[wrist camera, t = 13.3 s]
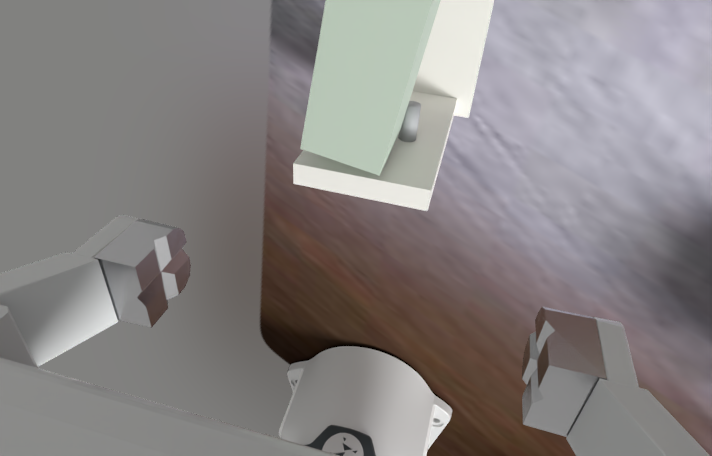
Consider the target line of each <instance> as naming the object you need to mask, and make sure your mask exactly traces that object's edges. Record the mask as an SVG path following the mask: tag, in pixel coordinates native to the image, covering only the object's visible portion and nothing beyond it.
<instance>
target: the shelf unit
mask: <svg viewBox="0 0 712 456" xmlns="http://www.w3.org/2000/svg"><path fill="white" fill-rule="evenodd" d="M493 3H494V0H441V1H440V4H439V7H438V11H437V14H436V17H435V20H434V23H433V27H432V30H431V33H430V36H429V40H428V43H427V46H426V49H425V52H424V56H423V59H422V62H421V65H420V68H419V72H418V75H417V78H416V81H415V85H414V88H413V91H412V94H411V97H410V101H409V104H408V107H407V110H406V113H405V117H404V120H403V123H402V126H401V130H400V132H399V134H398V137H397V139H396V141H395V143H394V145H393V148H392V150H391V152H390V154H389V156H388V158H387V161H386V163H385V165H384V167H383V169H382V171H381V174H380V176H379V175H376V174H373V173H370V172H367V171H364V170H361V169H358V168H355V167H352V166H350V165H347V164H344V163H341V162H338V161H335V160H332V159H329V158H326V157H323V156H320V155H317V154H314V153H312V152H309V151H306V150H303V151H302V153H301V154H300V155H299V157H298V158H297V159H296V160H295V162H294V163H293V180H294V184H298V185H303V186H307V187H312V188H317V189H322V190H327V191H332V192H337V193H342V194H346V195H351V196H356V197H361V198H366V199H371V200H376V201H381V202H385V203H390V204H395V205H400V206H405V207H410V208H415V209H420V210H424V211H428V207H429V204H430V200H431V196H432V193H433V189H434V186H435V182H436V178H437V175H438V171H439V168H440V164H441V160H442V157H443V153H444V150H445V146H446V142H447V139H448V135H449V132H450V128H451V124H452V121H453V117H454V116H460V117H466V118H469V114H470V109H471V105H472V100H473V96H474V91H475V86H476V82H477V77H478V73H479V68H480V63H481V59H482V54H483V50H484V45H485V40H486V36H487V31H488V26H489V22H490V17H491V13H492V8H493Z"/></svg>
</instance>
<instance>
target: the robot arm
mask: <svg viewBox="0 0 712 456" xmlns="http://www.w3.org/2000/svg"><path fill="white" fill-rule="evenodd" d="M185 244H186V238H185V234H184V231H183V230H181V229H180V228H177V227H173V226H169V225H165V224H161V223H157V222H153V221H149V220H145V219H139V218H135V217H131V216H127V215H121V216H117V217H116V218H114V219H113V220H112V221H111V222H109V223H108V224H107V225H106V226H105V227H103V228H102V229H101V230H100V231H99V232H97V233H96V234H95V235H94V236H92V237H91V238H90V239H89V240H88V241H86V242H85V243H84V244H83V245H82V246H80V247H79V248H78V249H77V250H75V251H74V252H73V253H69V252H65V253H61V254H58V255H56V256H53V257H49V258H46V259H43V260H40V261H37V262H34V263H31V264H28V265H25V266H22V267H19V268H16V269H13V270H9V271H6V272H3V273H0V456H426V454H427V450H428V449H429V448H430V446H431V445H432V444H433V442H434V441H435V440H436V438H437V437H438V436H439V434H440V433H441V432H442V430H443V429H444V428H445V426H446V425H447V424H448V422H449V421H450V418H451V415H452V409H451V408H450V406H449V405H448V404H446V403H445V402H444V401H442V400H441V399H440V398H438V397H437V396H435V395H434V394H433V393H432V391H431V390H430V388H429V387H428V385H427V384H426V382H425V381H424V380H423V378H422V377H421V376H420V375H419V374H418V373H417V372H416V371H415V370H413V369H412V368H411V367H410V366H408V365H407V364H405V363H404V362H402V361H400V360H399V359H397V358H395V357H393V356H390V355H388V354H386V353H383V352H380V351H377V350H373V349H369V348H364V347H356V346H341V347H334V348H330V349H327V350H325V351H322V352H320V353H319V354H317V355H316V356H315V357H313V358H312V359H310V360H308V361H302V362H296V363H293V364H291V365H290V366H289V369H288V372H287V377H288V380H289V383H290V386H291V389H292V393H293V394H292V397H291V399H290V402H289V405H288V407H287V410H286V413H285V416H284V418H283V421H282V424H281V426H280V430H279V435H280V437H281V439H280V438H277V437H273V436H270V435H267V434H263V433H259V432H256V431H253V430H249V429H245V428H242V427H239V426H235V425H232V424H229V423H225V422H222V421H218V420H215V419H211V418H207V417H204V416H201V415H197V414H194V413H191V412H187V411H184V410H180V409H177V408H173V407H170V406H166V405H163V404H159V403H156V402H153V401H149V400H146V399H142V398H139V397H136V396H132V395H128V394H125V393H122V392H118V391H115V390H112V389H108V388H104V387H101V386H98V385H94V384H91V383H88V382H84V381H81V380H77V379H74V378H70V377H67V376H63V375H60V374H56V373H53V372H49V371H46V370H43V369H39V368H38V366H40V365H42V364H44V363H45V362H47V361H49V360H51V359H52V358H54V357H56V356H58V355H60V354H61V353H63V352H65V351H67V350H69V349H71V348H72V347H74V346H76V345H78V344H80V343H81V342H83V341H85V340H87V339H89V338H90V337H92V336H94V335H95V334H97V333H99V332H101V331H103V330H105V329H107V328H108V327H110V326H112V325H114V324H116V323H117V322H118V320H120V321H124V322H129V323H133V324H137V325H142V326H146V327H150V328H151V327H153V325H154V324H155V323H156V322H157V320H158V319H159V318H160V317H161V316H162V315H163V313H164V312H165V311H166V310H167V308H168V299H170V298H172V297H175V296H177V295H179V294H180V293H181V291H182V290H183V289H184V287H185V286H186V283H187V281H188V278H189V276H190V266H191V265H190V259H189V257H188V255H187V254H186V253H185V252H184V250H183V249H182V248H183V246H184V245H185ZM535 321H536V332H534V333H532V334H531V335H530V336H529V338H528V341H527V344H526V348H525V352H524V357H523V366H522V379H523V380H524V382H525V383H526V384H527V386H526V389H525V391H524V394H523V396H522V399H523V424H524V425H527V426H531V427H534V428H538V429H541V430H545V431H548V432H552V433H555V434H558V435H562V436H565V437H567V441H568V442H569V444H570V446H571V447H572V449H573V451H574V453H575V454H576V456H710V455H709V454H708V453H707V452H706V451H705V450H704V449H703V448H702V447H701V446H700V445H699V444H698V443H697V442H696V441H695V440H694V439H693V437H692V436H691V435H690V434H689V433H688V432H687V431H686V430H685V429H684V428H683V427H682V426H681V425H680V424H679V423H678V422H677V421H676V420H675V419H674V417H673V416H672V415H671V414H670V413H669V412H668V411H667V410H666V409H665V408H664V407H663V406H662V405H661V404H660V403H659V402H658V401H657V400H656V399H655V397H654V396H653V395H652V394H651V393H650V392H649V391H648V390H646V389H642V388H639V385H638V382H637V378H636V374H635V370H634V366H633V362H632V358H631V354H630V350H629V346H628V342H627V338H626V334H625V330H624V326H623V325H622V324H621V323H620V322H616V321H611V320H606V319H601V318H596V317H593V318H592V317H589V316H584V315H579V314H575V313H570V312H565V311H560V310H556V309H551V308H546V307H542V308H541V309H540V311H539V312H538V315H537V317H536V320H535Z"/></svg>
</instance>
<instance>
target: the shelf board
mask: <svg viewBox="0 0 712 456" xmlns="http://www.w3.org/2000/svg"><path fill="white" fill-rule="evenodd" d="M440 1H441V0H326V2H325V8H324V14H323V19H322V25H321V31H320V37H319V43H318V49H317V54H316V60H315V66H314V72H313V78H312V84H311V90H310V95H309V101H308V107H307V113H306V119H305V125H304V130H303V136H302V142H301V148H300V149H303V150H306V151H309V152H312V153H314V154H317V155H320V156H323V157H326V158H329V159H332V160H335V161H338V162H341V163H344V164H347V165H350V166H352V167H355V168H358V169H361V170H364V171H367V172H370V173H373V174H376V175H379V176H380V174H381V171H382V169H383V167H384V165H385V163H386V161H387V158H388V156H389V154H390V152H391V150H392V148H393V145H394V143H395V141H396V139H397V137H398V134H399V132H400V130H401V126H402V123H403V120H404V117H405V113H406V110H407V107H408V104H409V101H410V97H411V94H412V91H413V88H414V85H415V81H416V78H417V75H418V72H419V68H420V65H421V62H422V59H423V56H424V52H425V49H426V46H427V43H428V40H429V36H430V33H431V30H432V27H433V23H434V20H435V17H436V14H437V11H438V7H439V4H440Z"/></svg>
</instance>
